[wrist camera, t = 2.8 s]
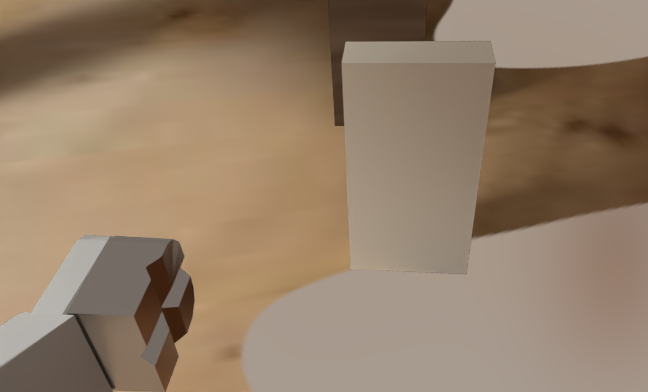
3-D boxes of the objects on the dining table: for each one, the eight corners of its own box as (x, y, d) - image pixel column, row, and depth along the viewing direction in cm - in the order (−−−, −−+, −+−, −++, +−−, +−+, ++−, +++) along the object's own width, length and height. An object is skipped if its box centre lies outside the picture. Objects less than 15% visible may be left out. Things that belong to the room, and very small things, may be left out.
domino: (420, 126, 35) (429, -52, 28) (334, 125, 35) (325, -49, 29) (420, 111, 36) (429, -62, 29) (337, 111, 36) (328, -59, 30)
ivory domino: (466, 274, 26) (495, 63, 19) (350, 269, 26) (341, 63, 20) (463, 247, 27) (490, 41, 20) (353, 243, 27) (345, 41, 21)
